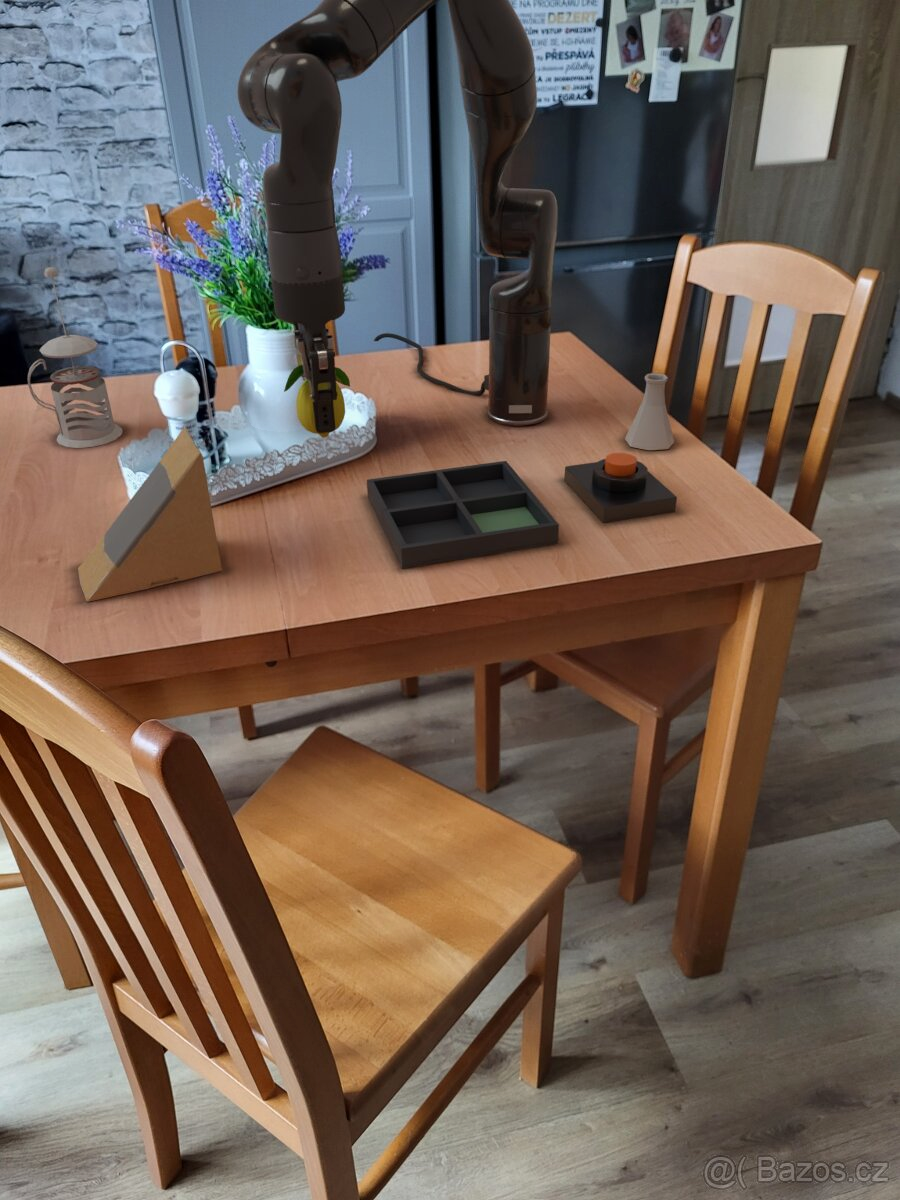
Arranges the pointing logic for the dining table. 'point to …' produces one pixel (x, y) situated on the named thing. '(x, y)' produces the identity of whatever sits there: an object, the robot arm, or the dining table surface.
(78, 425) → the french press
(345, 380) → the lemon
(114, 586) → the sandwich container
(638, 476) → the control box
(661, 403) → the flask
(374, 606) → the dining table surface
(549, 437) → the dining table surface
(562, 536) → the dining table surface
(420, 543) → the tray
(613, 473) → the button
